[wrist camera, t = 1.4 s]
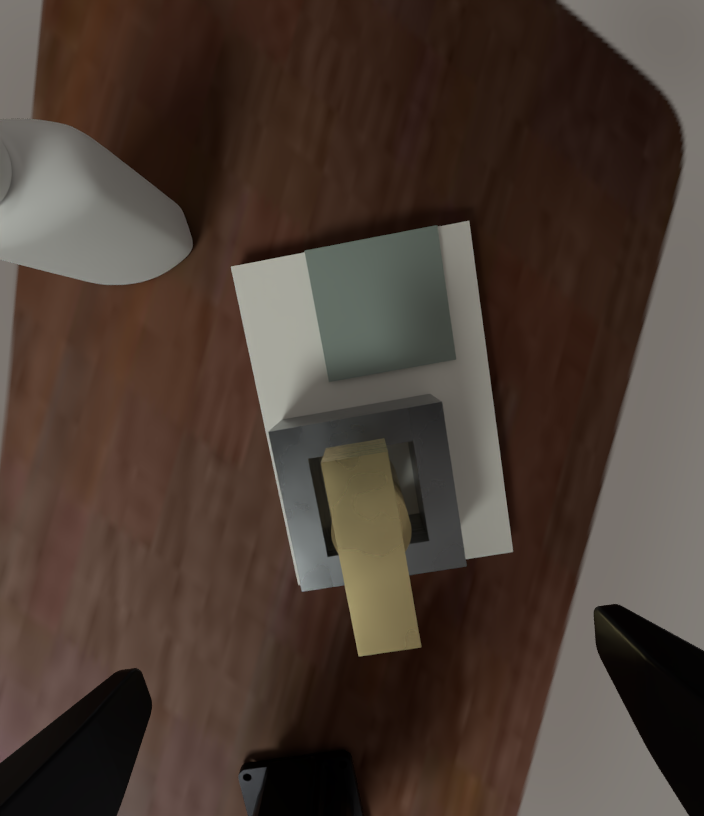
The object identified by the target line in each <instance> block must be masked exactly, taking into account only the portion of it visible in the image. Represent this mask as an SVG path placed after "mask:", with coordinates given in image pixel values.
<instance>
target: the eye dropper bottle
mask: <svg viewBox="0 0 704 816" xmlns="http://www.w3.org/2000/svg"><path fill="white" fill-rule="evenodd" d="M192 247H193V241H192V237H191V233H190V230H189V227H188V224H187V221H186V219H185V216H184V213H183V211H182V209H181V208H180V207H179V205H178V204H176V203H175V202H174V201H173V200H171V199H170V198H169V197H168V196H166V195H165V194H164V193H162V192H161V191H160V190H159V189H157V188H156V187H155V186H154V185H152V184H151V183H150V182H148V181H147V180H146V179H145V178H143V177H142V176H141V175H140V174H138V173H137V172H136V171H134V170H133V169H132V168H131V167H129V166H128V165H127V164H125V163H124V162H123V161H122V160H120V159H119V158H118V157H116V156H115V155H114V154H113V153H111V152H110V151H109V150H107V149H106V148H105V147H103V146H102V145H100V144H99V143H98V142H96V141H95V140H94V139H92V138H91V137H90V136H88V135H86V134H85V133H83V132H81V131H79V130H77V129H75V128H74V127H72V126H68V125H65V124H61V123H57V122H50V121H44V120H35V119H0V260H3V261H7V262H12V263H15V264H19V265H23V266H27V267H31V268H35V269H39V270H43V271H47V272H51V273H55V274H59V275H63V276H67V277H71V278H75V279H79V280H83V281H87V282H92V283H97V284H105V285H125V284H134V283H139V282H143V281H147V280H150V279H153V278H155V277H157V276H160V275H162V274H164V273H165V272H167V271H169V270H170V269H172V268H173V267H175V266H176V265H177V264H179V263H180V262H181V261H182V260H183V259H185V258H186V257H187V256H188V254H189V253H190V252H191V250H192Z"/></svg>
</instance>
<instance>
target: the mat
mask: <svg viewBox="0 0 704 816" xmlns="http://www.w3.org/2000/svg"><path fill="white" fill-rule="evenodd" d="M305 257H306V262H307V267H308V273H309V278H310V283H311V289H312V294H313V299H314V305H315V310H316V315H317V321H318V326H319V332H320V337H321V342H322V348H323V353H324V358H325V364H326V369H327V374H328V380H329V382H333V381H338V380H344V379H350V378H355V377H361V376H366V375H372V374H378V373H383V372H389V371H395V370H400V369H406V368H411V367H417V366H423V365H428V364H434V363H440V362H445V361H451V360H456V353H455V346H454V339H453V332H452V325H451V318H450V311H449V304H448V297H447V290H446V283H445V276H444V269H443V263H442V256H441V249H440V242H439V235H438V228H437V225H435V226H430V227H425V228H420V229H414V230H409V231H404V232H399V233H394V234H389V235H383V236H378V237H373V238H368V239H363V240H357V241H352V242H347V243H342V244H337V245H332V246H326V247H321V248H316V249H311V250H306V251H305Z"/></svg>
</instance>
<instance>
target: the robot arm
mask: <svg viewBox="0 0 704 816" xmlns="http://www.w3.org/2000/svg"><path fill="white" fill-rule="evenodd" d="M594 625H595V638H596V647H597V650H598V653H599V656H600V658H601V660H602V662H603V664H604V666H605V668H606V670H607V672H608V674H609V676H610V677H611V680H612V681H613V683H614V685H615V687H616V689H617V691H618V693H619V695H620V697H621V699H622V701H623V703H624V705H625V707H626V708H627V710H628V712H629V714H630V716H631V718H632V720H633V722H634V724H635V726H636V728H637V730H638V732H639V734H640V735H641V737H642V739H643V741H644V743H645V745H646V747H647V748H648V750H649V752H650V754H651V755H652V757H653V759H654V760H655V762H656V764H657V765H658V767H659V769H660V770H661V772H662V774H663V775H664V777H665V778H666V780H667V781H668V783H669V785H670V786H671V788H672V789H673V791H674V792H675V794H676V796H677V797H678V799H679V800H680V802H681V804H682V805H683V807H684V808H685V810H686V812H687V813H688V814H689V816H704V651H703V650H701V649H700V648H698V647H696V646H694V645H692V644H690V643H689V642H687V641H685V640H683V639H681V638H679V637H678V636H676V635H674V634H672V633H670V632H668V631H667V630H665V629H663V628H661V627H659V626H657V625H656V624H654V623H652V622H650V621H648V620H646V619H645V618H643V617H641V616H639V615H637V614H635V613H634V612H632V611H630V610H628V609H626V608H624V607H622V606H620V605H618V604H612V605H604V606H598V607H596V608H595V610H594ZM151 710H152V700H151V697H150V694H149V691H148V688H147V685H146V683H145V680H144V677H143V674H142V672H141V671H140V670H139V669H136V668H133V669H125V670H120V671H117V672H115V673H114V674H113V675H111V676H110V677H109V678H108V679H106V680H105V681H104V682H103V683H101V684H100V685H99V686H97V687H96V688H95V689H94V690H92V691H91V692H90V693H89V694H87V695H86V696H85V697H84V698H82V699H81V700H80V701H78V702H77V703H76V704H75V705H73V706H72V707H71V708H70V709H68V710H67V711H66V712H65V713H63V714H62V715H61V716H59V717H58V718H57V719H56V720H54V721H53V722H52V723H51V724H49V725H48V726H47V727H46V728H44V729H43V730H42V731H40V732H39V733H38V734H37V735H35V736H34V737H33V738H32V739H30V740H29V741H28V742H26V743H25V744H24V745H23V746H21V747H20V748H19V749H18V750H16V751H15V752H14V753H13V754H11V755H10V756H9V757H7V758H6V759H5V760H4V761H2V762H1V763H0V816H117V813H118V811H119V808H120V805H121V803H122V800H123V797H124V794H125V791H126V788H127V785H128V782H129V779H130V776H131V773H132V770H133V767H134V764H135V761H136V758H137V755H138V752H139V749H140V746H141V743H142V739H143V736H144V733H145V730H146V727H147V724H148V721H149V718H150V715H151ZM343 761H344V762H343ZM239 782H240V786H241V790H242V794H243V798H244V802H245V806H246V810H247V814H248V816H364V814H363V809H362V804H361V799H360V794H359V789H358V785H357V780H356V775H355V770H354V765H353V760H352V756H351V754H350V753H349V752H348V751H346V750H338V751H331V752H324V753H316V754H309V755H302V756H294V757H287V758H279V759H272V760H265V761H257V762H250V763H245V764H243V765H242V767H241V769H240V772H239Z"/></svg>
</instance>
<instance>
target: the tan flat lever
mask: <svg viewBox="0 0 704 816" xmlns="http://www.w3.org/2000/svg"><path fill="white" fill-rule="evenodd" d="M321 467H322V472H323V477H324V482H325V487H326V492H327V497H328V502H329V508H330V513H331V518H332V525H331V537H332V542H333V544H334V547H335V549H336V550H337V552H338V554H339V559H340V564H341V569H342V574H343V579H344V584H345V589H346V595H347V600H348V605H349V610H350V615H351V620H352V625H353V630H354V636H355V641H356V646H357V651H358V656H366V655H373V654H380V653H387V652H394V651H400V650H407V649H414V648H421V642H420V636H419V630H418V625H417V619H416V613H415V607H414V601H413V595H412V590H411V584H410V578H409V572H408V566H407V560H406V555H405V552H406V550H407V548H408V546H409V543H410V540H411V533H412V530H411V523H410V519H409V516H408V512H407V509H406V505H405V502H404V498H403V495H402V491H401V488H400V484H399V481H398V477H397V474H396V470H395V468H394V465H393V464H392V462H391V461H390V460H389V455H388V450H387V446H386V443H385V439H384V438H382V439H377V440H371V441H365V442H359V443H353V444H347V445H341V446H336V447H330V448H326V449H325V452H324V455H323V458H322V461H321Z"/></svg>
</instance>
